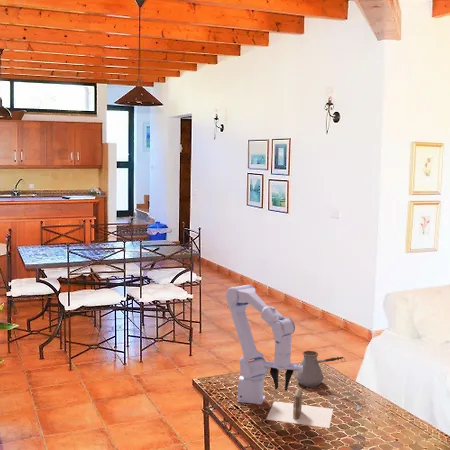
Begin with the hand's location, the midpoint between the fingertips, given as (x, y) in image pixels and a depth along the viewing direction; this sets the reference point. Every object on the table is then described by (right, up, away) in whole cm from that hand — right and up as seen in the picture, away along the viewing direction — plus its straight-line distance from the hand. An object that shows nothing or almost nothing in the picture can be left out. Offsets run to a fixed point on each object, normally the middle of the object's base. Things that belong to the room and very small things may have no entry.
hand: (281, 388), depth 213 cm
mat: (+7, -10, 0) cm, 12 cm away
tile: (+6, -9, 0) cm, 11 cm away
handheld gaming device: (+23, -9, +11) cm, 27 cm away
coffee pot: (+18, -7, +27) cm, 33 cm away
